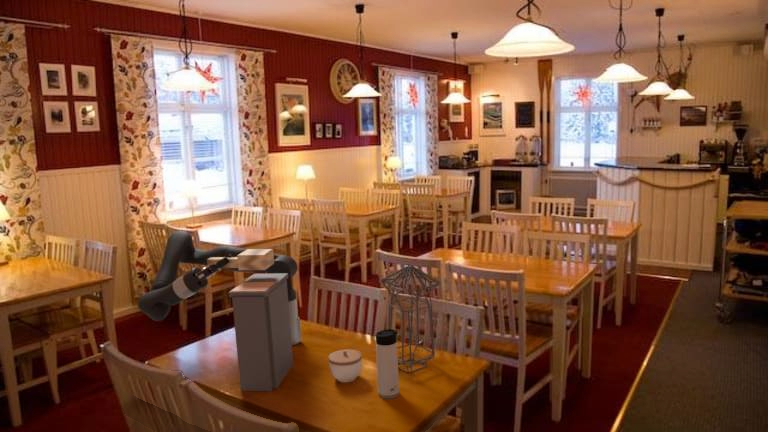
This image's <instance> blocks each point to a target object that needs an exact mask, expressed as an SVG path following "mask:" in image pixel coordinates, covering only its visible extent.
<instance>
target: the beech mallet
mask: <svg viewBox="0 0 768 432" xmlns="http://www.w3.org/2000/svg"><path fill="white" fill-rule="evenodd" d="M246 249H247V250H245V251H244V252H242V253H240V254H239V255H237V257H227V258H228V260H229V263H228V264H226V265H224V266H223V267H221V268H238V269H239V270H266V269H267V268H269V267H270V266H271V265H273V264H274V255H273V254H274V249H273V248H246ZM223 258H225V257H211V258H209V259H207V266H209V265H213V264H214V263H216V262H218V261H220V260H221V259H223Z"/></svg>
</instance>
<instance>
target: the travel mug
mask: <svg viewBox="0 0 768 432" xmlns="http://www.w3.org/2000/svg"><path fill="white" fill-rule="evenodd" d="M398 333H399V332H398V330H396V329H393V328H391V329H388V328H387V329H381V330H380V331H378V332H377V333H376V334H375V352H376V355H375V356H376V371H377V373H376V375H377V391H378V393H377V394H378V396H379V397H380V398H382V399H385V400H391V399H395V398H397V397H398V396H399V395H400V383H399V382H400V381H399V380H400V379H399V368H398V367H399V364H398V358H399V357H398V349H397V347H398V343H397V341H398V340H397V335H398Z"/></svg>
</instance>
